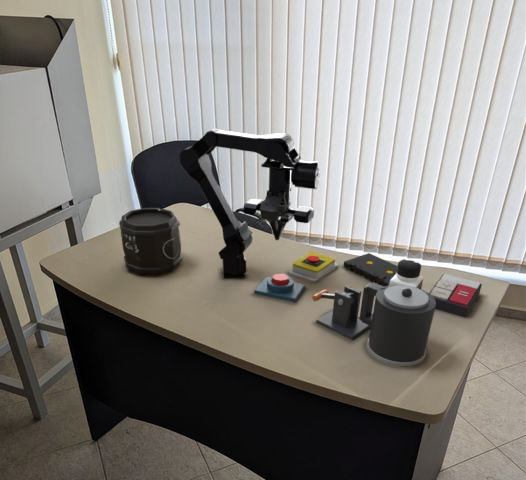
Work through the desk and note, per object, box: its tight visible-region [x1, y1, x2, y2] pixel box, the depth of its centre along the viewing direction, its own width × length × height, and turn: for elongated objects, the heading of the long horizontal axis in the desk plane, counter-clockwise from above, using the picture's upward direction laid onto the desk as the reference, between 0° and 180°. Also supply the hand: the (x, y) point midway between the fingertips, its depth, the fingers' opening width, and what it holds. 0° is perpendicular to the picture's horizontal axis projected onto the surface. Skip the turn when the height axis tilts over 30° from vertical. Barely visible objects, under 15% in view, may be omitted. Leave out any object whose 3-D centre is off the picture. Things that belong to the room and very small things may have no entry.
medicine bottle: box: [389, 258, 424, 289], centre depth 134 cm, size 7×7×12 cm
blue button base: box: [253, 275, 306, 303], centre depth 139 cm, size 12×9×4 cm
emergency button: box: [289, 251, 339, 282], centre depth 152 cm, size 9×4×15 cm
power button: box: [272, 272, 289, 285], centre depth 138 cm, size 4×4×2 cm
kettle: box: [359, 282, 436, 367], centre depth 114 cm, size 17×14×16 cm
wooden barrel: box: [118, 207, 183, 277], centre depth 150 cm, size 18×18×16 cm
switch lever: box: [311, 288, 355, 304], centre depth 124 cm, size 11×5×2 cm, turn 46°
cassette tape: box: [343, 252, 398, 287], centre depth 151 cm, size 18×12×2 cm, turn 37°
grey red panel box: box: [428, 273, 483, 318], centre depth 137 cm, size 11×4×15 cm
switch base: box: [315, 285, 371, 341], centre depth 123 cm, size 11×9×10 cm
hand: (277, 239), depth 139 cm, fingers closed
